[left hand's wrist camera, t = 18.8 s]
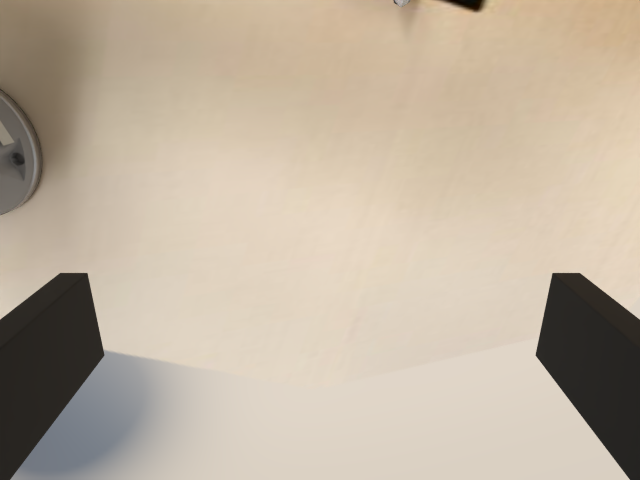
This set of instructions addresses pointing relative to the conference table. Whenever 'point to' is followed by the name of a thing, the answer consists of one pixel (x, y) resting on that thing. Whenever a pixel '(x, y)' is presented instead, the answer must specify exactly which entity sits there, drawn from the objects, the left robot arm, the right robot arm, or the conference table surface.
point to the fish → (401, 2)
